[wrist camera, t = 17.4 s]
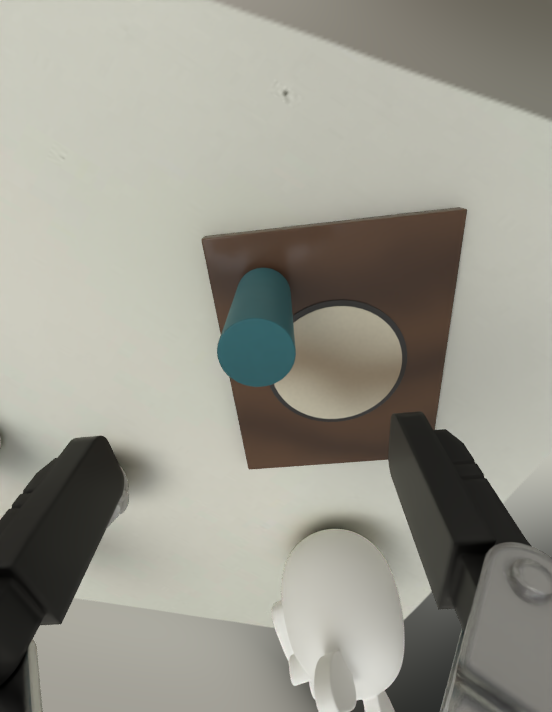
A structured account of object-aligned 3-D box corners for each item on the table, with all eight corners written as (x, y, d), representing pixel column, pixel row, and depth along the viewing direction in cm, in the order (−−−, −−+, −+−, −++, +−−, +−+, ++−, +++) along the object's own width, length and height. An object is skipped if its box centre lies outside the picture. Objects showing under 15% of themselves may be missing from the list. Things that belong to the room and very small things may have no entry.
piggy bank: (252, 544, 38) (237, 746, 25) (327, 489, 33) (358, 699, 20) (332, 586, 42) (357, 779, 28) (409, 541, 37) (479, 745, 24)
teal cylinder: (234, 266, 22) (209, 322, 14) (287, 260, 22) (292, 314, 14) (242, 315, 24) (224, 390, 16) (292, 310, 23) (298, 384, 16)
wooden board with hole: (204, 236, 22) (200, 239, 21) (460, 207, 21) (469, 209, 20) (249, 461, 32) (248, 471, 31) (426, 448, 31) (431, 458, 30)
